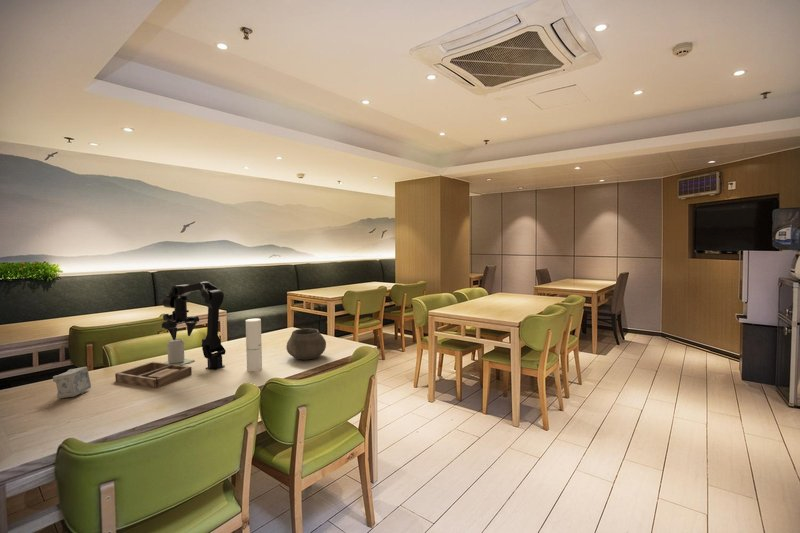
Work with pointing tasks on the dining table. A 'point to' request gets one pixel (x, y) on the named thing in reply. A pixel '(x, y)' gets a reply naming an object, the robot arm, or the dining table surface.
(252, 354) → the cylindrical container
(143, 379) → the wooden divided tray
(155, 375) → the offcut top
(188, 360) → the mat
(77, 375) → the grey stone block
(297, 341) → the clay pot
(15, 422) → the dining table surface
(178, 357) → the can
